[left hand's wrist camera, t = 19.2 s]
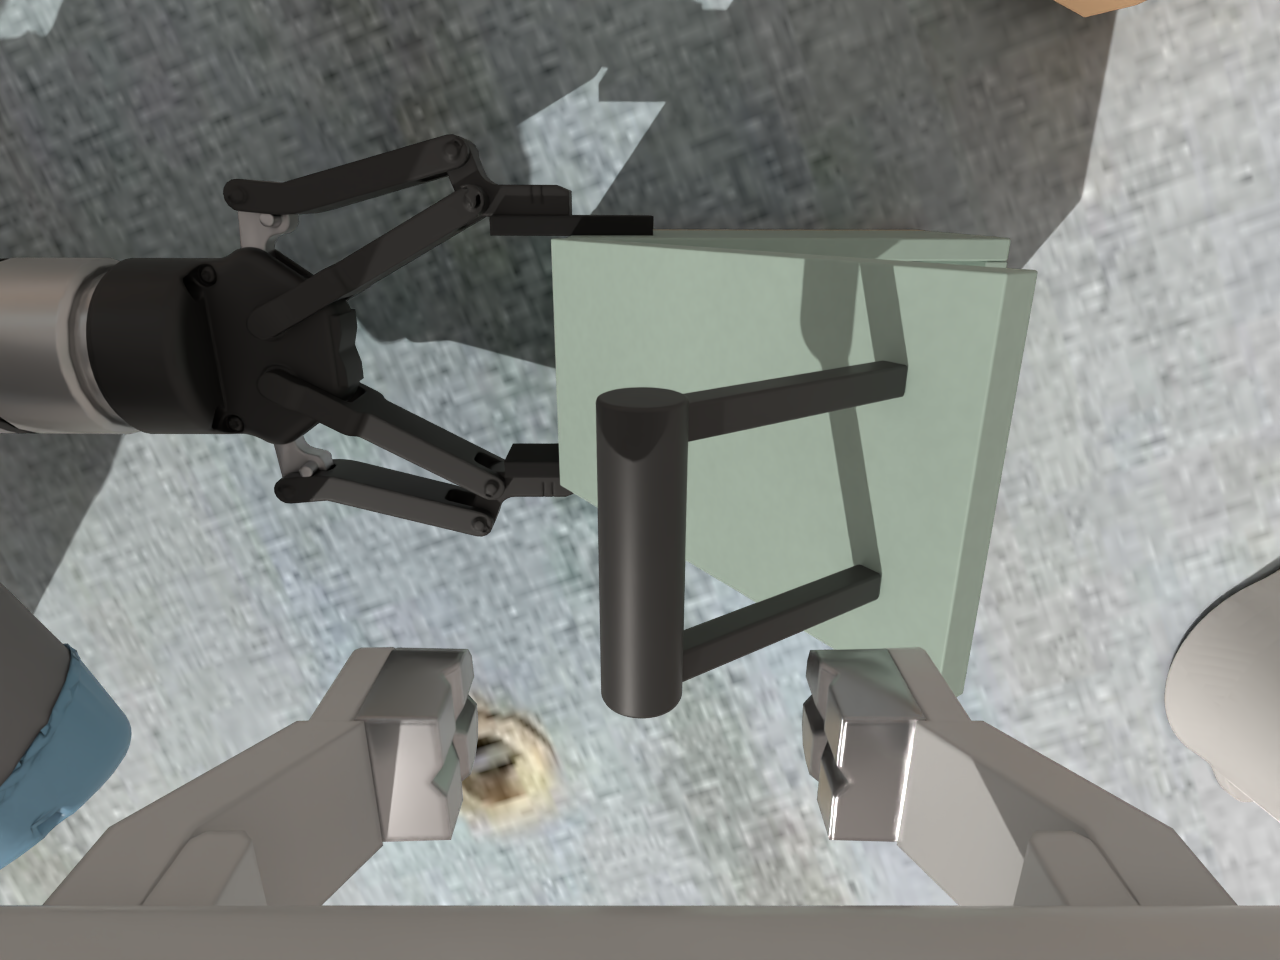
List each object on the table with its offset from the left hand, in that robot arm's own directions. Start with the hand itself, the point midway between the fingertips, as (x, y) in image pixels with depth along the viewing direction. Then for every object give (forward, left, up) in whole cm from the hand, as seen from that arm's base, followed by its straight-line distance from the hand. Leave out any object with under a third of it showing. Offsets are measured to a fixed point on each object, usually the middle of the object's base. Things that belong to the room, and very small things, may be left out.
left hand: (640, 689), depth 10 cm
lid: (-3, 0, -13) cm, 14 cm away
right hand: (-1, 0, -24) cm, 24 cm away
